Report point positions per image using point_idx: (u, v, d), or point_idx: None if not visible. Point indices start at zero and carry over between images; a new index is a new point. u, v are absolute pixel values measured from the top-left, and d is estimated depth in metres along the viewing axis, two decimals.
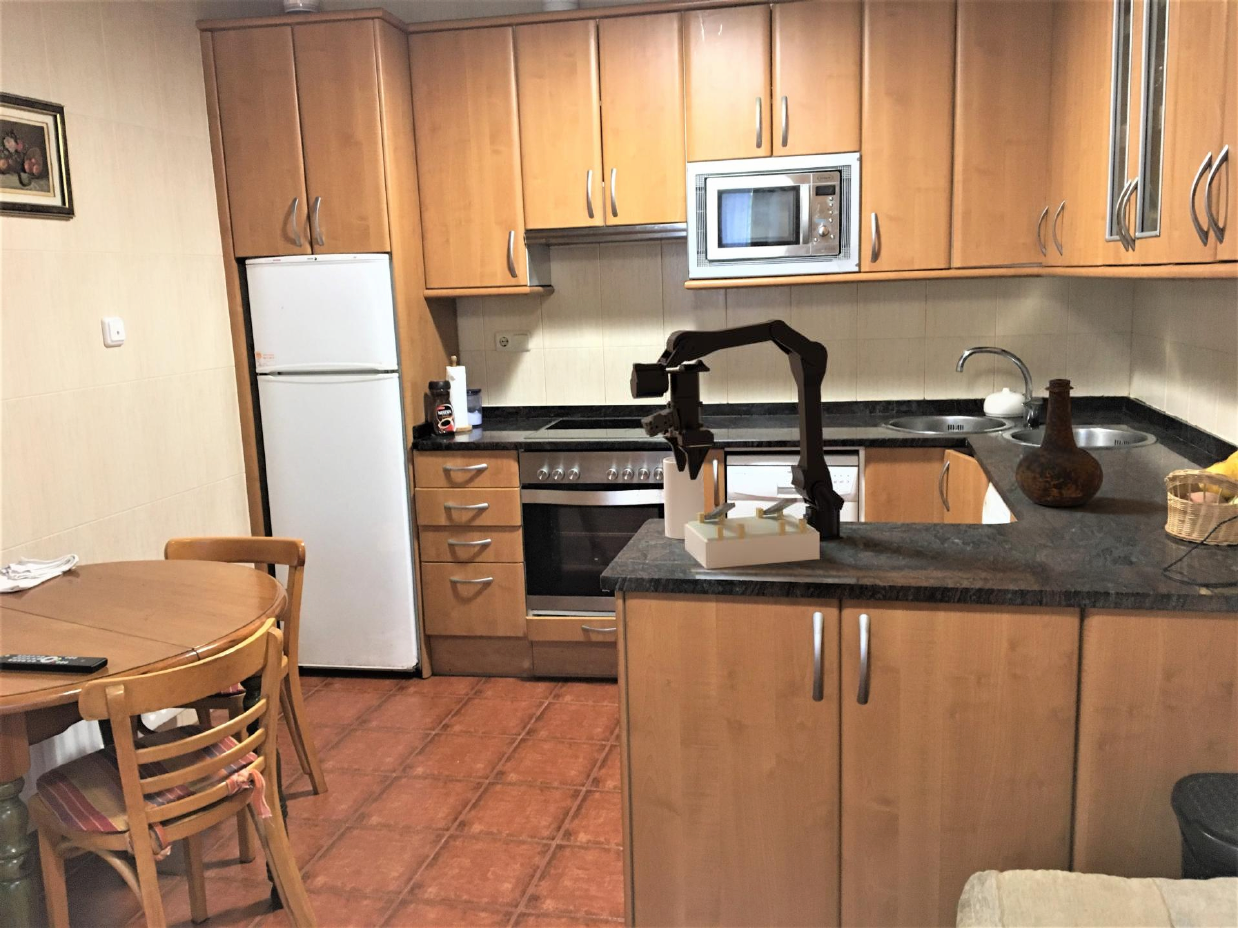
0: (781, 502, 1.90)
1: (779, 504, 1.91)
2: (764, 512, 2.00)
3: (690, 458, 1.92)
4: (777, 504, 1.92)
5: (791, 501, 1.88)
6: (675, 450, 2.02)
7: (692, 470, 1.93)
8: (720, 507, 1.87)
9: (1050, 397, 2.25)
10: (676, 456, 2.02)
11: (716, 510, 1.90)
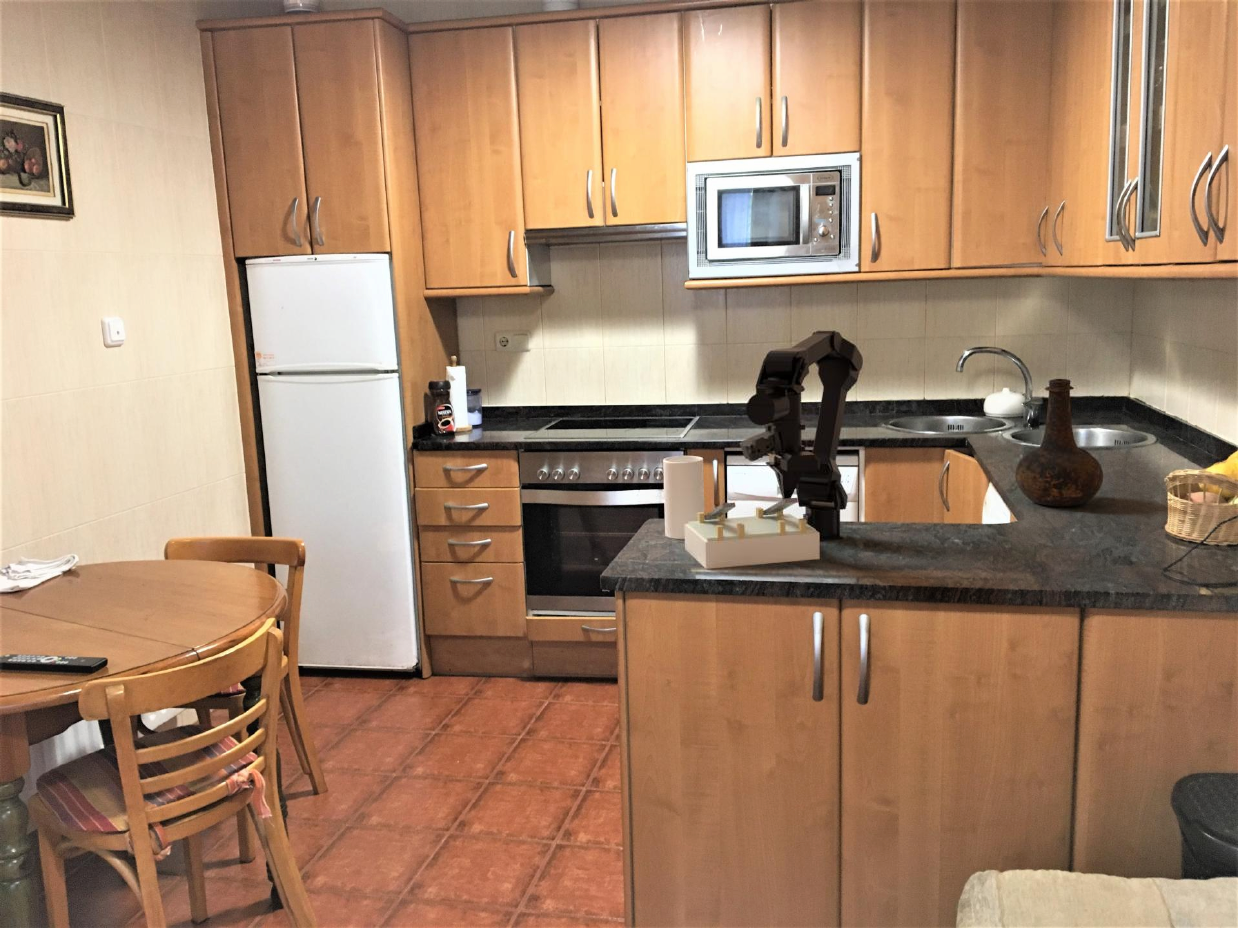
0: (781, 502, 1.90)
1: (779, 504, 1.91)
2: (764, 512, 2.00)
3: (784, 479, 1.88)
4: (777, 504, 1.92)
5: (791, 501, 1.88)
6: (780, 478, 1.90)
7: (786, 491, 1.90)
8: (720, 507, 1.87)
9: (1050, 397, 2.25)
10: None
11: (716, 510, 1.90)
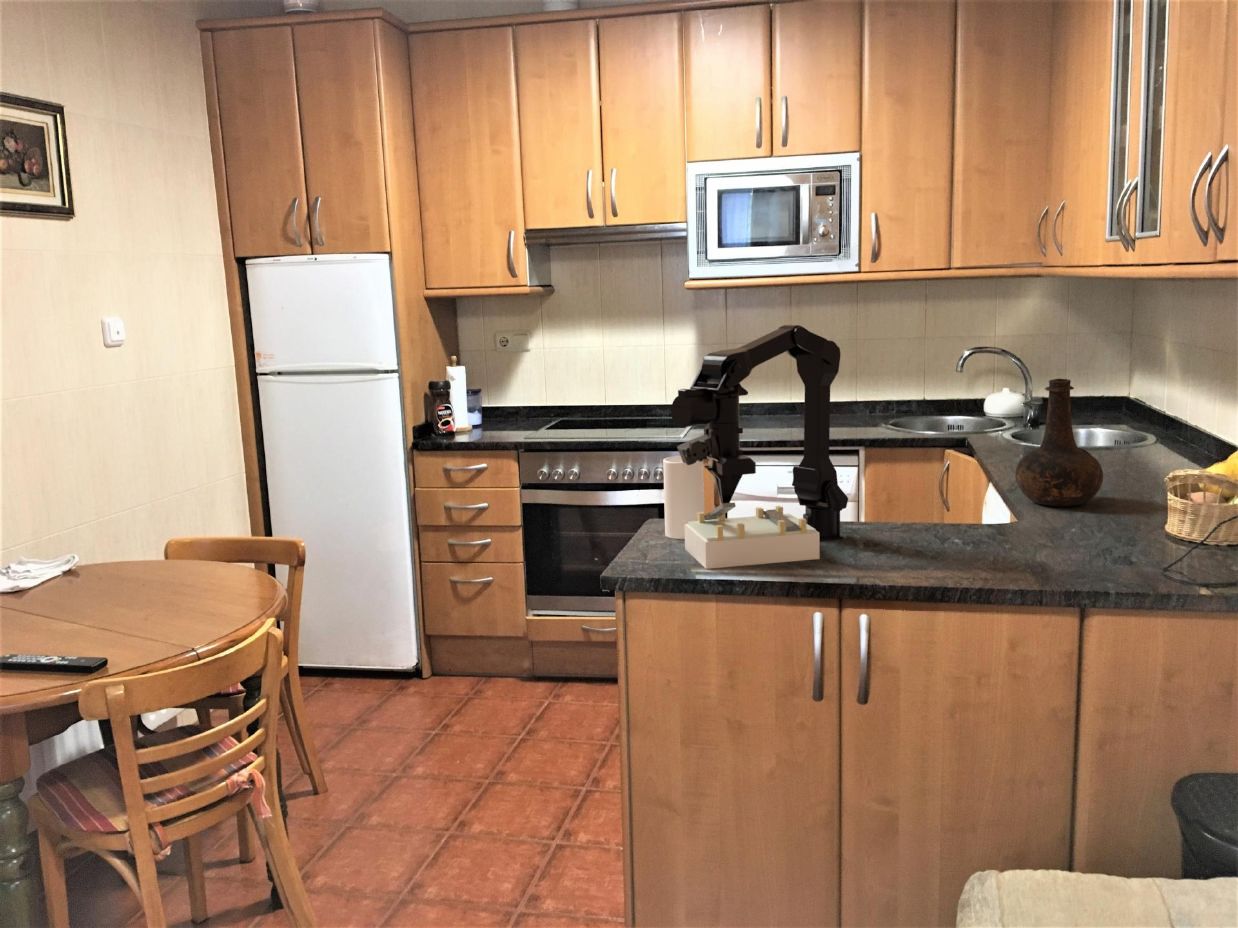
0: None
1: None
2: (764, 513, 2.00)
3: (723, 484, 1.86)
4: None
5: (793, 529, 1.88)
6: (718, 481, 1.88)
7: (725, 495, 1.88)
8: (720, 507, 1.87)
9: (1050, 397, 2.25)
10: (719, 488, 1.88)
11: (716, 510, 1.90)
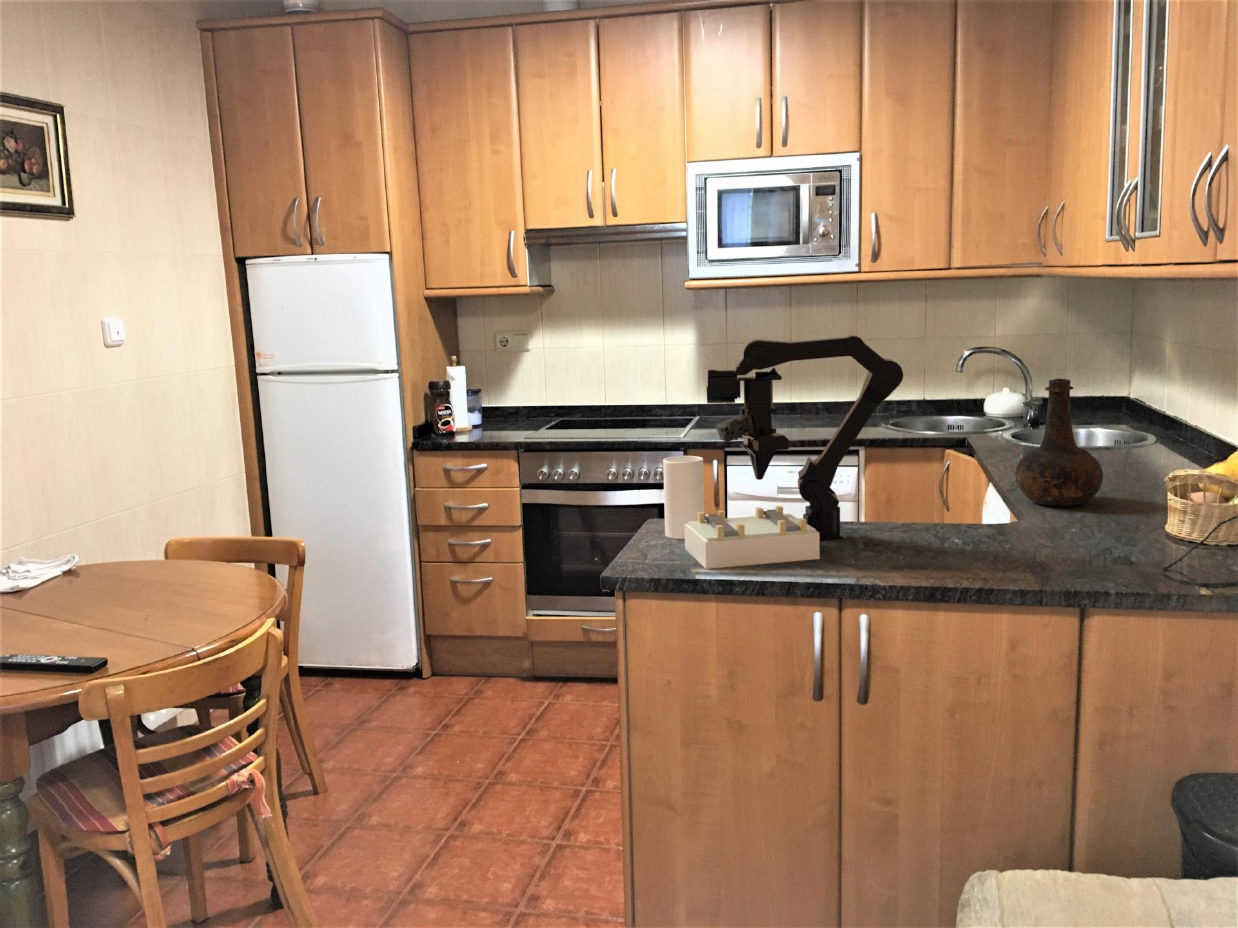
0: None
1: None
2: (764, 513, 2.00)
3: (757, 459, 2.03)
4: None
5: (793, 529, 1.88)
6: (753, 458, 2.05)
7: (759, 470, 2.05)
8: None
9: (1050, 397, 2.25)
10: None
11: None
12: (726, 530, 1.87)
